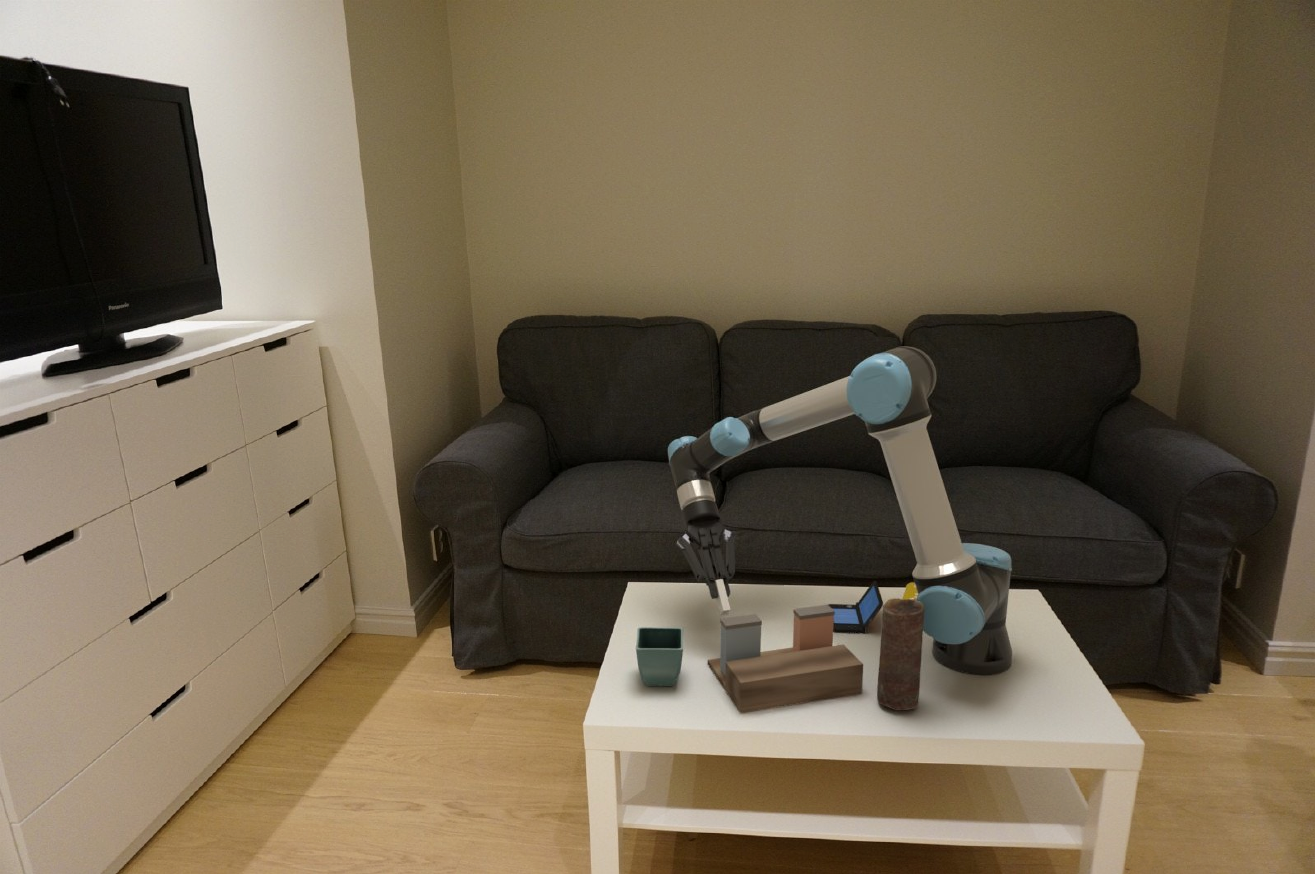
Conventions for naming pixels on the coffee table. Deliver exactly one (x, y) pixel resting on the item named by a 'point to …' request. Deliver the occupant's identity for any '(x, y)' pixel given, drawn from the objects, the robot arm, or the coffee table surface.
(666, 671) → the flower pot
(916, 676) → the candle
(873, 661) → the coffee table surface
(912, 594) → the element tile
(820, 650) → the key block
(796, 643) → the key terracotta
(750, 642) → the key slate
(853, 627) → the handheld game console
